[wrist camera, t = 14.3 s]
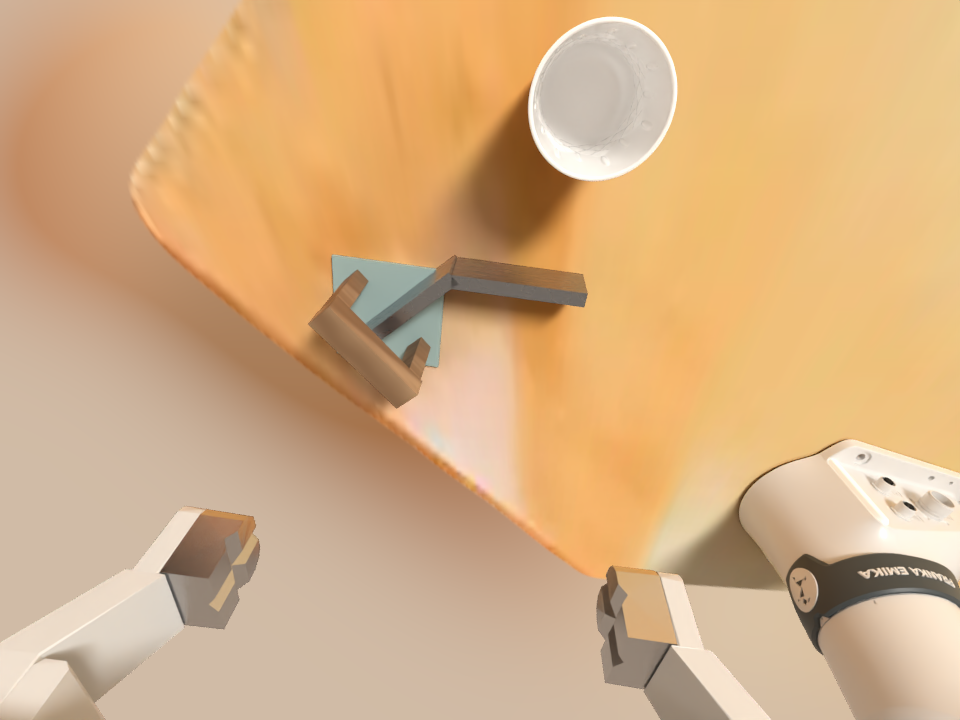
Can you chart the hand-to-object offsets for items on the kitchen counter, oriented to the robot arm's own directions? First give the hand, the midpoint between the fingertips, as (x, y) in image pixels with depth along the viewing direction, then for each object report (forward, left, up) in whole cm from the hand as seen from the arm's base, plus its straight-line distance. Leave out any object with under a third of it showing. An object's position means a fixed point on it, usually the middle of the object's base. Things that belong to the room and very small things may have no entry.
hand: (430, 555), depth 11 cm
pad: (+9, +12, -33) cm, 36 cm away
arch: (+9, +12, -33) cm, 36 cm away
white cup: (-5, -8, -33) cm, 35 cm away
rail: (+1, +10, -33) cm, 34 cm away
